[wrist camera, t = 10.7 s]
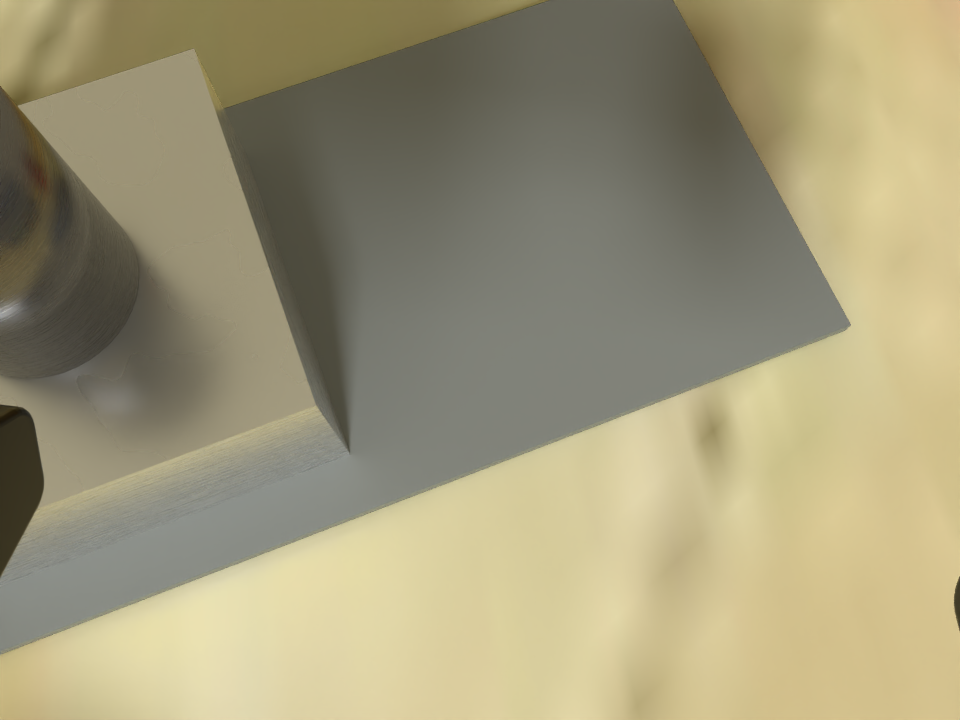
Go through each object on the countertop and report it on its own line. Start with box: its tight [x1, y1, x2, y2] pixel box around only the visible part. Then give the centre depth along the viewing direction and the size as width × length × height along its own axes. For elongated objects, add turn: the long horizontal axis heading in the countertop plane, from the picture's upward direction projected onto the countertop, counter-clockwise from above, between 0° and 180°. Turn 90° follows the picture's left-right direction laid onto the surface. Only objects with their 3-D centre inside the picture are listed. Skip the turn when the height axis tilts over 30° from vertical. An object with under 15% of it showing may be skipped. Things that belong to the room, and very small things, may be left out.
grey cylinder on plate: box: [0, 49, 350, 586], centre depth 18 cm, size 9×9×10 cm
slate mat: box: [0, 0, 851, 654], centre depth 24 cm, size 23×12×1 cm, turn 111°
